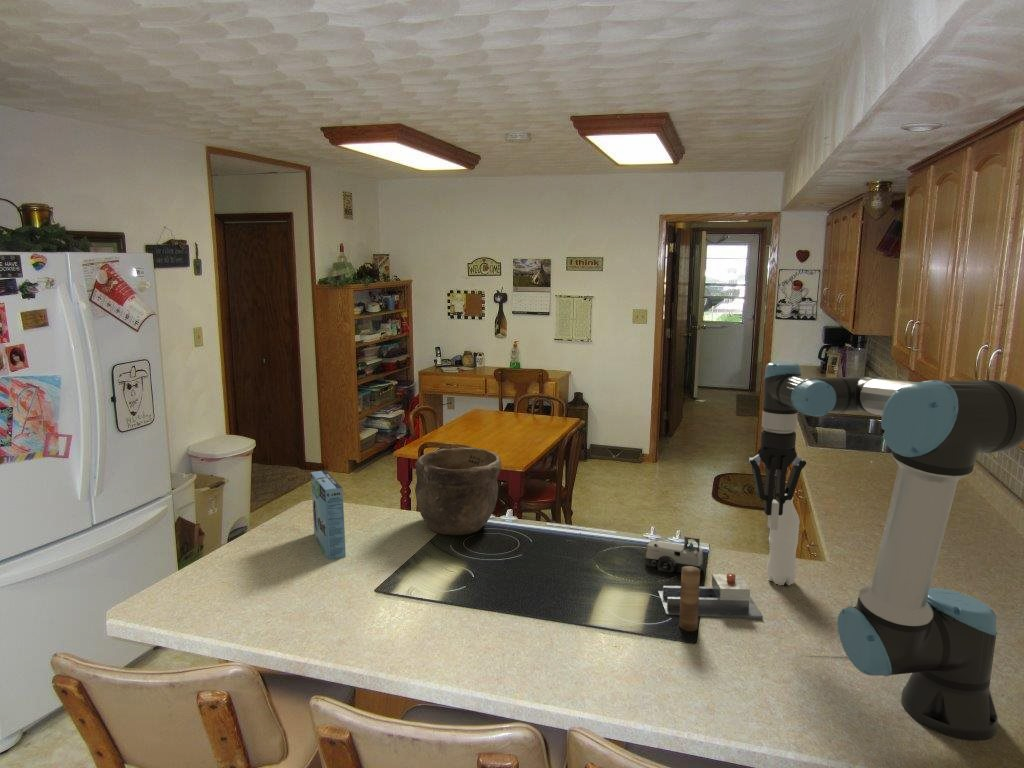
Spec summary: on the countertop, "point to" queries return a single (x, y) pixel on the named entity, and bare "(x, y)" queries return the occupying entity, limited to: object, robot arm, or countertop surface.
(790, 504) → the water bottle
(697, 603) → the dowel peg
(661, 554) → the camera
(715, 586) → the white rectangular block
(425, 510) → the clay pot
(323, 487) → the blue carton box
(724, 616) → the mount
